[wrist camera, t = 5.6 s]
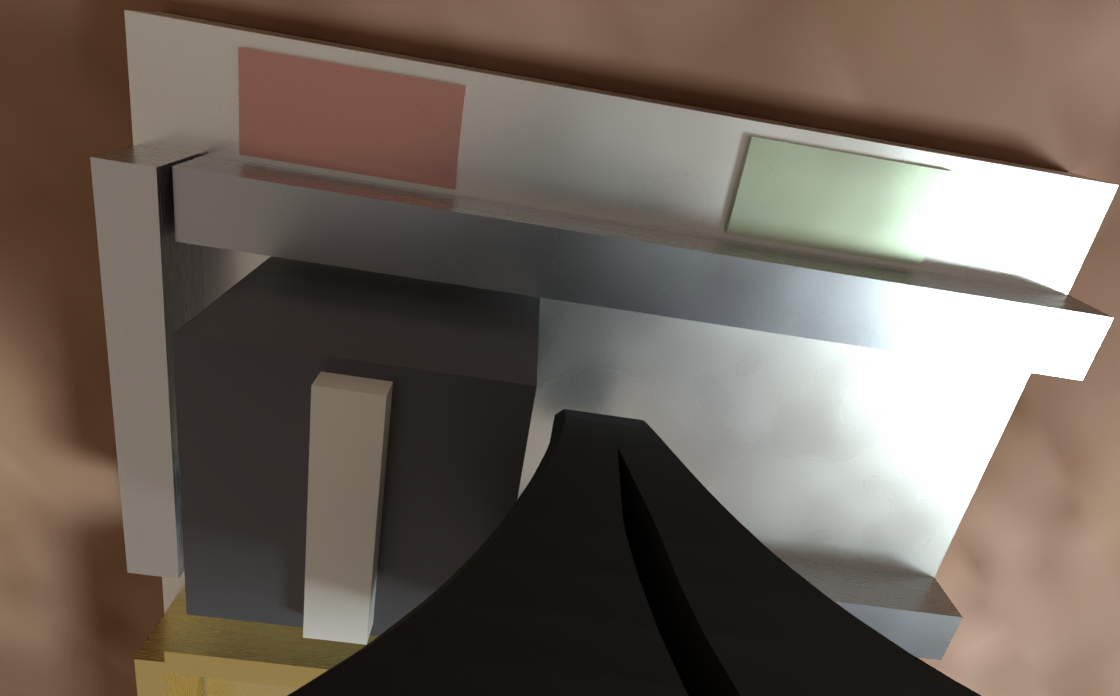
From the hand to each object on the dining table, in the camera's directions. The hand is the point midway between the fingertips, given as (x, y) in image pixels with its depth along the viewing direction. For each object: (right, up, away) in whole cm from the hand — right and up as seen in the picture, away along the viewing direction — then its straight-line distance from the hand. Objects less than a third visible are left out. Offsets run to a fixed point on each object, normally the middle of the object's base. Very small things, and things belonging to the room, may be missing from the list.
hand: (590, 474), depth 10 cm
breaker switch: (-3, +1, +1) cm, 3 cm away
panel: (-1, -3, +4) cm, 5 cm away
